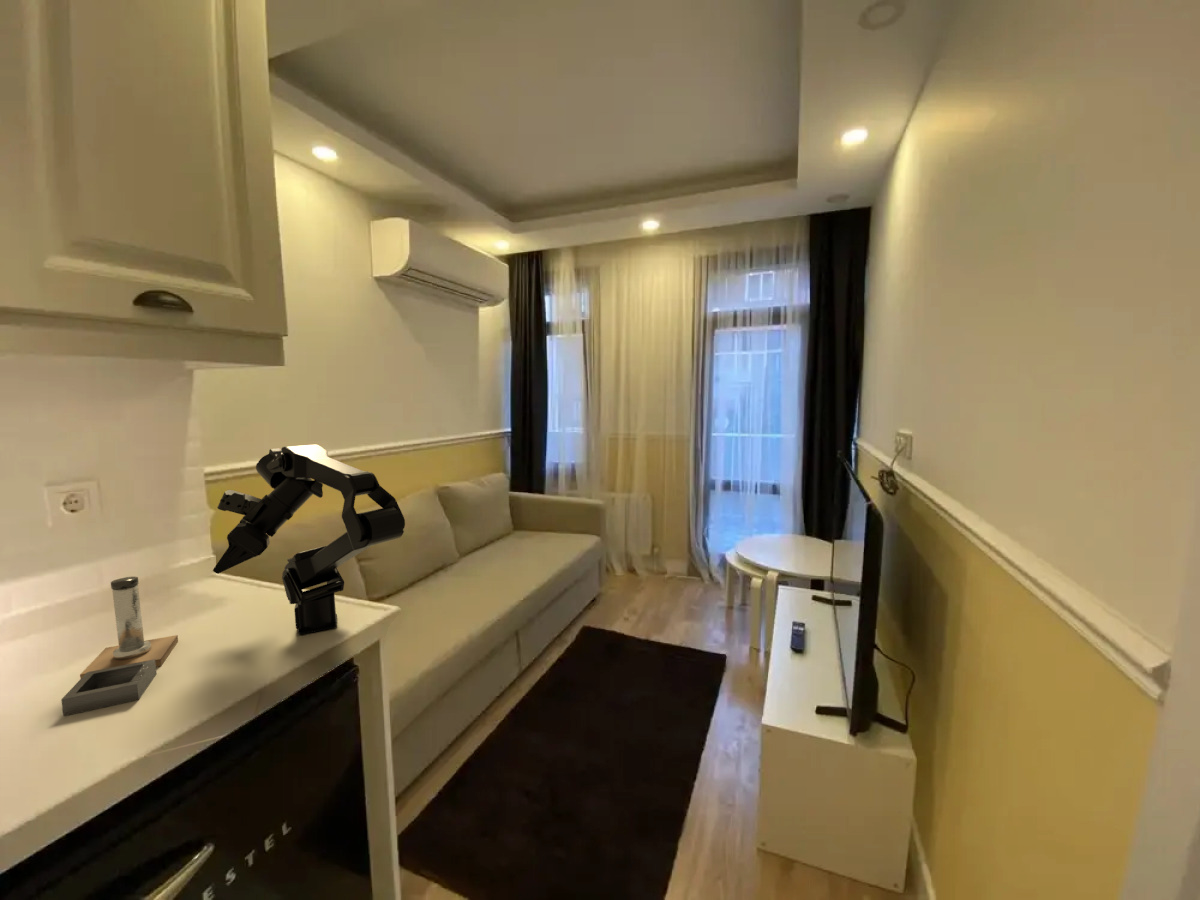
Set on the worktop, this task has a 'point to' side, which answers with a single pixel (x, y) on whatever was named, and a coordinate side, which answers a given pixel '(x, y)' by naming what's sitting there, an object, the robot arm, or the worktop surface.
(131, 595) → the capped metal cylinder
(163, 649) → the walnut pad
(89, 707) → the holder
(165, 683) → the worktop surface
